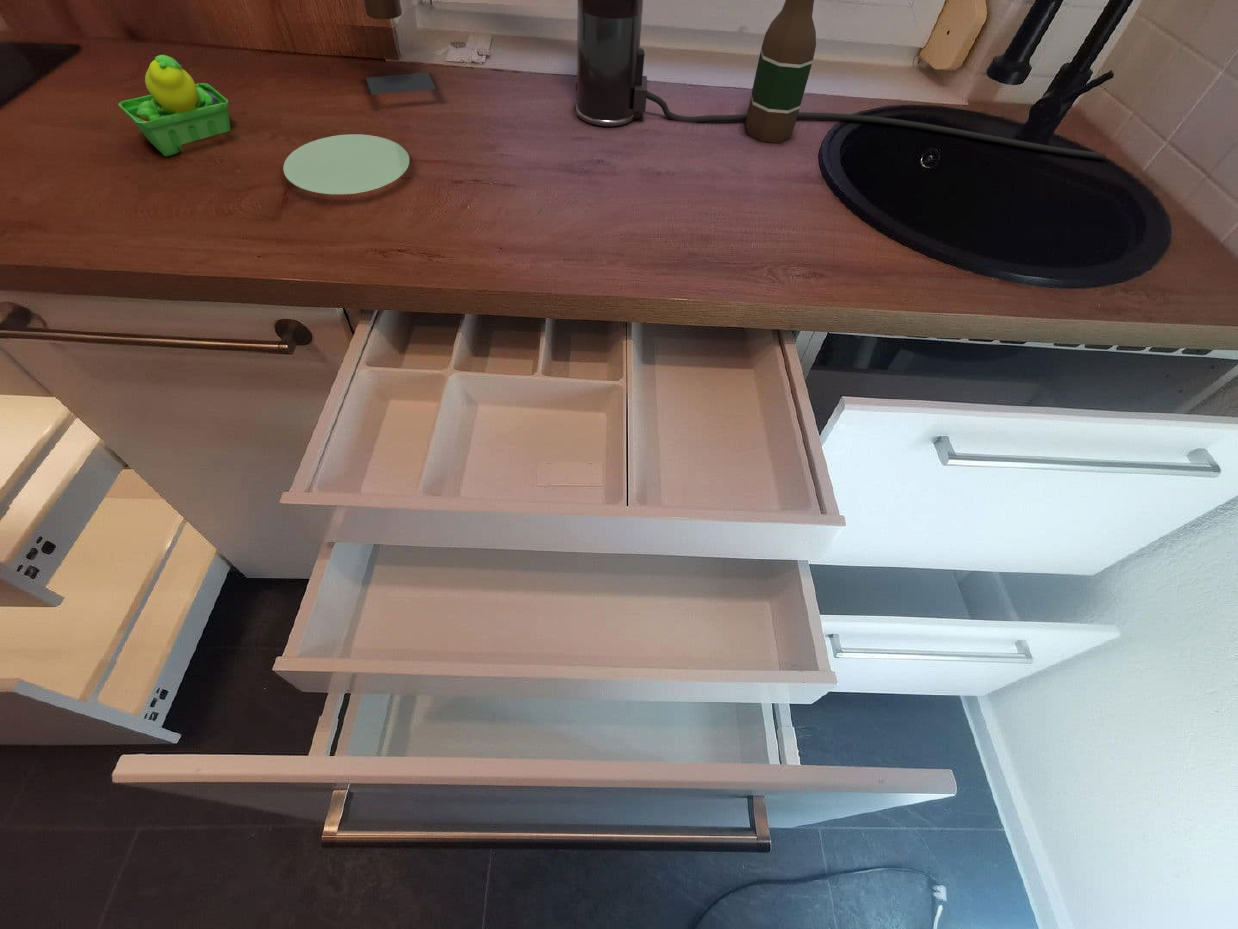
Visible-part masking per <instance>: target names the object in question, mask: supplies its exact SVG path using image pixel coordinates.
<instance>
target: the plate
mask: <svg viewBox="0 0 1238 929" xmlns="http://www.w3.org/2000/svg"><path fill="white" fill-rule="evenodd" d="M409 165H410V155H409V153H408V151H407V150H406V149H405V148H404V147H403V146H402V145H401V144H399V143H397V142H396V141H393V140H391V139H388V138H386V137H381V136H376V135H372V134H371V135H370V134H362V133H361V134H357V133H355V134H354V133H353V134H352V133H351V134H350V133H349V134H338V135H332V136H327V137H321V138H318V139H316V140H312V141H310V142H308V143H305V144H303V145H301V146H299V147H298V148H296V149H295V150H293V151H291V153H290V154H289V155H288V156H287V157H286V159H285V161H284V162H283V166H282V167H283V168H282V171H283V175H284V176H285V179H287V180H288V181H289V182H290V183H291V184H293V185H294V186H296V187H298V188H300V189H303V190H305V191H310V192H312V193H316V194H317V193H318V194H324V195H353V194H360V193H365V192H369V191H374V190H377V189H379V188H382V187H385V186H387V185H389V184H391V183H393V182H394V181H396V180H398V179H399V178H400V177H402V176H403V174H405V172H406V171H407V170H408V168H409Z"/></svg>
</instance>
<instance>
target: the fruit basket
mask: <svg viewBox="0 0 1238 929" xmlns="http://www.w3.org/2000/svg"><path fill="white" fill-rule="evenodd" d="M144 84H145V87H146V89H147V91H148V93H149V94H148V95H144V96H139V97H135V98H129V99H125V100H122V101H120V102H119V103H118V107H120V109H121V110H122V111H123V112H124V114H125V115H127V116H128V117H129V119H131V120H132V122H133V123H134V125H135V126H136V127H137V128H138V129H139V131H140V132H141V133H142V134H143V135H144V137H145V138H146V139H147V140H148V142H150V144H151V145H153V146H154V147H155V149H156V150H158V152H160V153H161V154H162V155H163V157H170V156H173V155H177V154H180V153H182V145H185V144H189V143H192V142H195V141H198V140H203V139H207V138H211V137H213V136H216V135H222V134H225V133H228V132H231V131H232V130H231V121H230V114H229V100H228V99H227V98H226V97H225V96H224V95H223V94H221V93H220V92H219V91H218V90H216V89H215V88H214V87H213V86H211V85H210V84H209V83H207V82H201V83H196V82H195V80H194V79H193V77H192V76H191V75H190V74H189V72H187V71H186V70H185V69H183V68H182V64H180V63H178V61H177V60H176V59H175V58H173V57H172V56H168V55H167V54H159V55H157V56H155V57H154V60H152V61H151V62H150V64H149V67H148V69H146V73H145V77H144Z"/></svg>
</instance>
